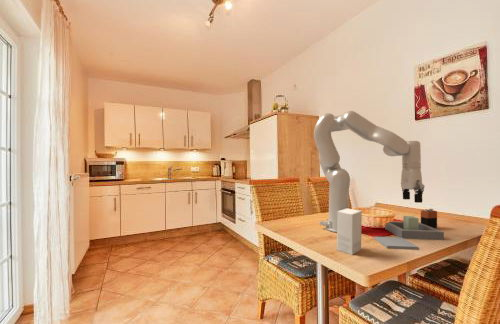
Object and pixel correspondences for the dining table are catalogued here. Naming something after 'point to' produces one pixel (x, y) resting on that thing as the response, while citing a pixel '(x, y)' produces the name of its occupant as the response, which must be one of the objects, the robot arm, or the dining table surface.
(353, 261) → the dining table surface
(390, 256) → the dining table surface
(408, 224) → the green box
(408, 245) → the mat
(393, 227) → the grey square frame
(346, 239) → the skincare box
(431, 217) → the battery
